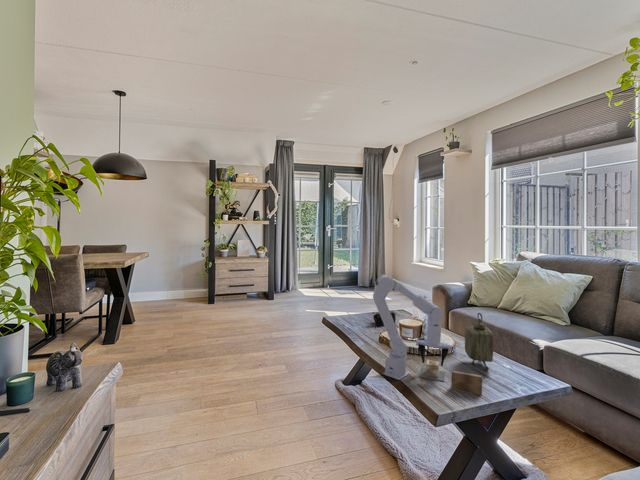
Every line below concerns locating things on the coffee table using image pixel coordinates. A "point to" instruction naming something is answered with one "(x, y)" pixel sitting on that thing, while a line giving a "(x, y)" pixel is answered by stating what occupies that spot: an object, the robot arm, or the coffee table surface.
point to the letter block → (432, 368)
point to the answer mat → (439, 378)
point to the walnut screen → (466, 382)
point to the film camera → (379, 320)
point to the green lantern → (479, 342)
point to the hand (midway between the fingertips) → (432, 363)
